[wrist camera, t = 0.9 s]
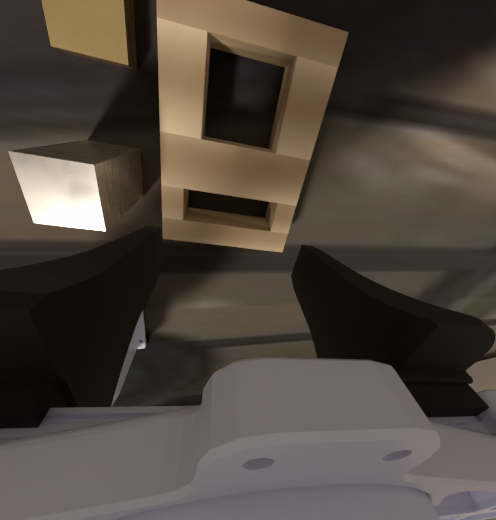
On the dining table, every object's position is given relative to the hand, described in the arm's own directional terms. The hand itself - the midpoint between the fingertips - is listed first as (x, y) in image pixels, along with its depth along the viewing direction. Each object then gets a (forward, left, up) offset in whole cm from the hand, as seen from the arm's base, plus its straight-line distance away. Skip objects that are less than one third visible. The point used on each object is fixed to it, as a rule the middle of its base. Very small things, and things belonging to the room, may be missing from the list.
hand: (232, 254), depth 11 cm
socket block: (+4, 0, -9) cm, 10 cm away
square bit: (+1, +9, -9) cm, 13 cm away
